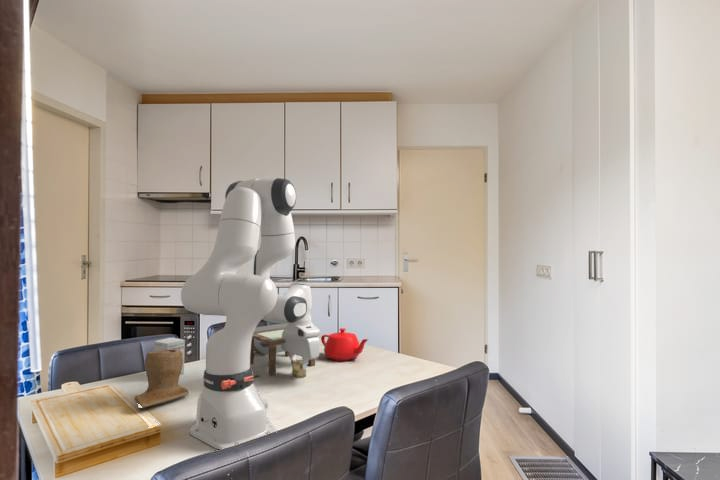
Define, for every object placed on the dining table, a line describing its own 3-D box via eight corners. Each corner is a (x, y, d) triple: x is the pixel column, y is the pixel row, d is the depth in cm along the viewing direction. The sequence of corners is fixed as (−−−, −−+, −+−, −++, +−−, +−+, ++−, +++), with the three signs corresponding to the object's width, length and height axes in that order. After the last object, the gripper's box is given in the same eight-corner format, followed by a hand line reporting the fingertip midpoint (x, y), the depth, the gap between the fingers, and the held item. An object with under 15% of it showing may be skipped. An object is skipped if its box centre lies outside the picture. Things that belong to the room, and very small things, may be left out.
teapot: (309, 357, 163) (309, 328, 163) (332, 349, 176) (333, 322, 176) (357, 367, 148) (357, 336, 149) (378, 358, 161) (378, 329, 161)
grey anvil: (289, 345, 183) (290, 322, 183) (299, 348, 178) (299, 324, 178) (241, 355, 165) (241, 329, 166) (250, 358, 160) (250, 332, 160)
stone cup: (175, 389, 125) (176, 342, 125) (194, 398, 117) (195, 348, 118) (123, 403, 113) (125, 352, 113) (141, 414, 106) (142, 359, 106)
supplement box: (152, 376, 137) (153, 340, 137) (171, 370, 143) (172, 336, 144) (166, 380, 133) (167, 343, 134) (184, 373, 140) (185, 339, 140)
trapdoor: (305, 337, 152) (305, 334, 152) (274, 342, 142) (274, 339, 142) (287, 331, 162) (287, 328, 162) (256, 336, 153) (256, 333, 153)
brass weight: (308, 376, 138) (309, 362, 138) (297, 379, 135) (297, 364, 135) (301, 372, 142) (301, 359, 142) (289, 375, 139) (289, 361, 139)
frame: (315, 365, 151) (315, 334, 151) (271, 375, 138) (271, 342, 138) (289, 355, 166) (289, 327, 166) (246, 363, 153) (247, 333, 153)
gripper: (277, 325, 144) (276, 362, 144) (307, 333, 129) (307, 375, 129) (291, 323, 149) (291, 359, 148) (322, 331, 133) (322, 371, 133)
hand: (298, 366), depth 138 cm, fingers open, 5 cm apart
